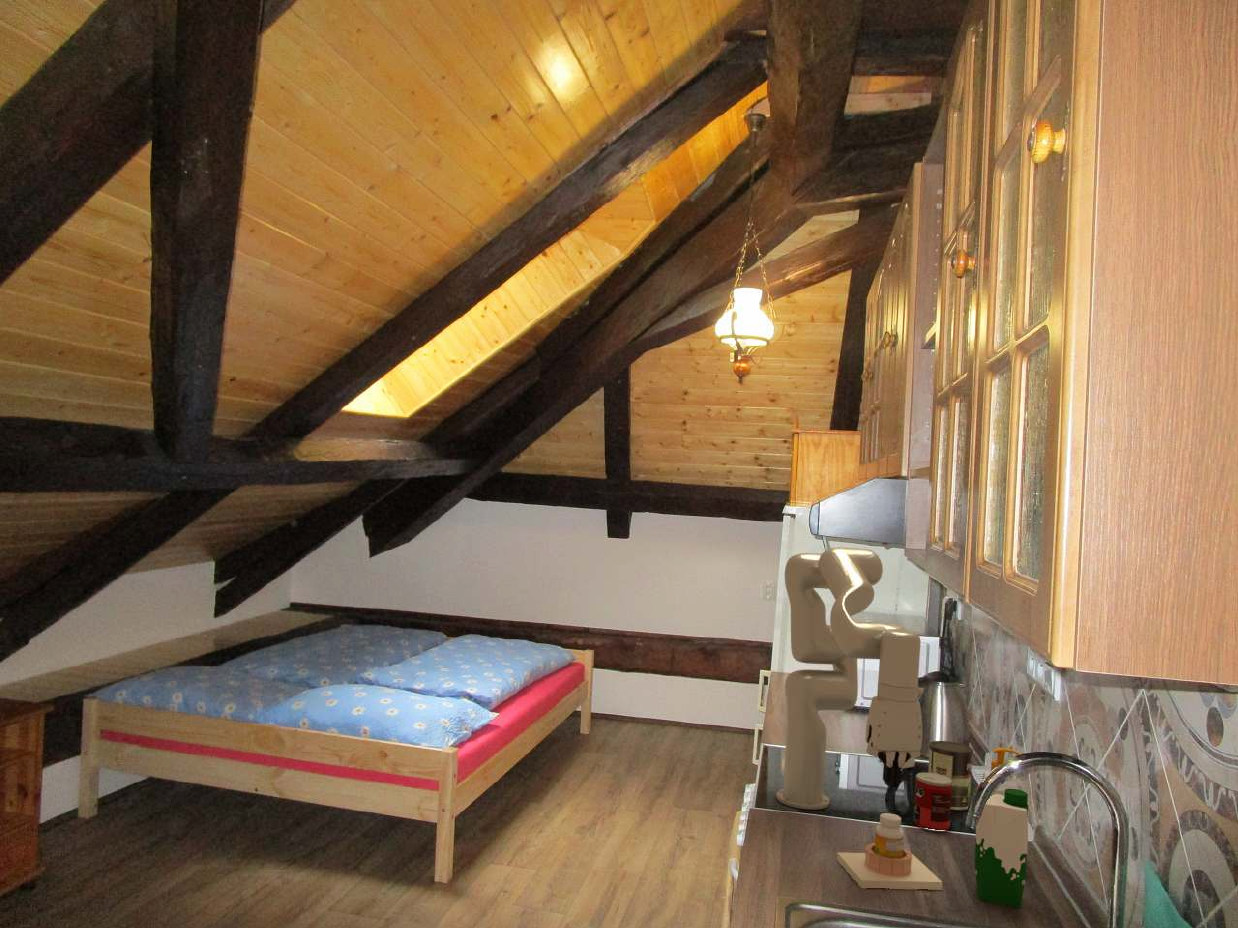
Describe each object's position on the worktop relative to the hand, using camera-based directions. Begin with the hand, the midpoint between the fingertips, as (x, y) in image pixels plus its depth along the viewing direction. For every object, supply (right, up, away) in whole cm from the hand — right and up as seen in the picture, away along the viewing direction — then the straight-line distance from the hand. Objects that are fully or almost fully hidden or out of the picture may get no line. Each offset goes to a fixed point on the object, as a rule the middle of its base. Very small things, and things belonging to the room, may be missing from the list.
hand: (891, 785), depth 176 cm
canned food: (+18, -20, +28) cm, 39 cm away
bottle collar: (-1, -16, -1) cm, 16 cm away
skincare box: (+26, -22, +77) cm, 84 cm away
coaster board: (-1, -17, -1) cm, 17 cm away
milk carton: (+18, -18, -8) cm, 27 cm away
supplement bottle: (-1, -16, -1) cm, 16 cm away
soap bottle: (+26, -20, +11) cm, 34 cm away
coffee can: (+28, -21, +45) cm, 57 cm away
